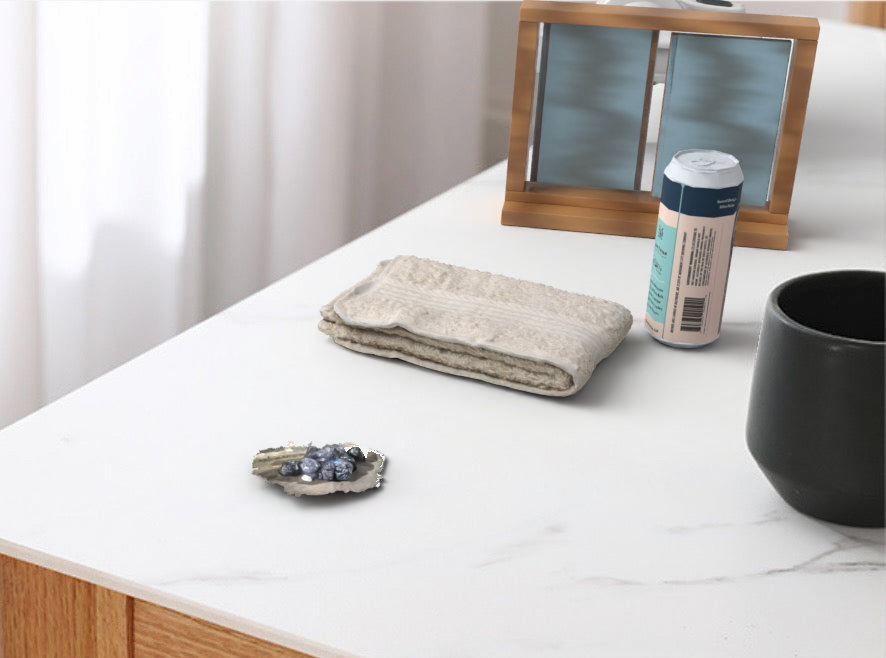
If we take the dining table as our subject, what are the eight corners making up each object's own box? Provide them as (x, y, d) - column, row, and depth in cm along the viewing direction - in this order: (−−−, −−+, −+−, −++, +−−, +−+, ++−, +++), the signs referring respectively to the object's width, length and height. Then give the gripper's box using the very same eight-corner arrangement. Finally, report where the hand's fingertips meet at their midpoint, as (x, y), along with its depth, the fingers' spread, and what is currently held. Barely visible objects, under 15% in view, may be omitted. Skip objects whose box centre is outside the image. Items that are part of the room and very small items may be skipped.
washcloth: (386, 282, 109) (388, 240, 108) (637, 336, 102) (643, 292, 100) (307, 345, 100) (308, 300, 98) (577, 409, 92) (582, 362, 91)
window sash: (641, 169, 124) (661, 13, 118) (640, 191, 120) (660, 29, 114) (535, 161, 126) (549, 6, 120) (529, 181, 121) (543, 21, 116)
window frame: (781, 217, 121) (815, 10, 114) (786, 250, 115) (822, 33, 108) (509, 194, 125) (526, -8, 118) (500, 224, 119) (517, 14, 112)
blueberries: (226, 472, 85) (226, 441, 84) (333, 427, 90) (334, 398, 89) (310, 521, 81) (311, 490, 80) (418, 471, 86) (420, 441, 85)
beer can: (733, 337, 102) (761, 160, 96) (691, 359, 99) (718, 177, 93) (670, 315, 105) (694, 141, 99) (628, 335, 102) (650, 157, 96)
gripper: (524, -9, 139) (509, 27, 127) (763, 5, 135) (770, 44, 123) (519, 61, 142) (503, 103, 130) (752, 77, 138) (759, 122, 126)
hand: (635, 75), depth 126 cm, fingers open, 8 cm apart
